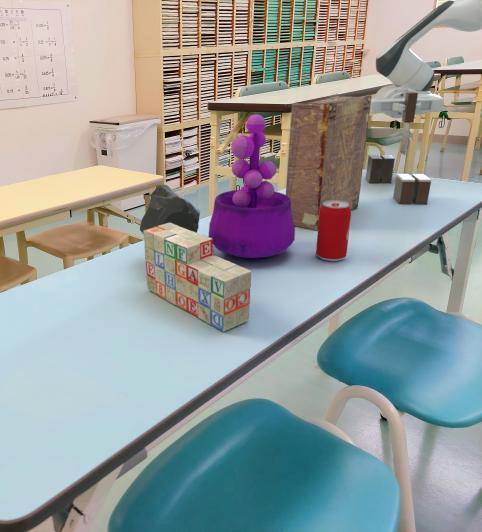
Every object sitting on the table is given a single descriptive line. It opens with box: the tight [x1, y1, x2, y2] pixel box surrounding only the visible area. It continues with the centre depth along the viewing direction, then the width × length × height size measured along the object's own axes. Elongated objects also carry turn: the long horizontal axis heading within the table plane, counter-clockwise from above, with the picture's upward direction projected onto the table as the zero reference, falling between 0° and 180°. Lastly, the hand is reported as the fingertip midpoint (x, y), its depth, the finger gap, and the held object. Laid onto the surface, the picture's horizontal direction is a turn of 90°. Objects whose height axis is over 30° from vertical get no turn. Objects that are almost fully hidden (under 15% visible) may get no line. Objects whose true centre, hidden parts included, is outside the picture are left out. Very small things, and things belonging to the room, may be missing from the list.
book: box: [285, 93, 373, 231], centre depth 134 cm, size 25×9×30 cm, turn 137°
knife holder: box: [365, 154, 396, 184], centre depth 169 cm, size 7×6×8 cm
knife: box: [399, 92, 418, 156], centre depth 149 cm, size 2×5×17 cm, turn 169°
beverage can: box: [315, 200, 352, 262], centre depth 110 cm, size 6×6×12 cm
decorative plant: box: [208, 114, 296, 259], centre depth 111 cm, size 19×18×30 cm
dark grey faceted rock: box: [139, 184, 201, 236], centre depth 107 cm, size 14×15×18 cm
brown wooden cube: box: [392, 173, 432, 205], centre depth 147 cm, size 7×7×7 cm
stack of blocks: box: [143, 223, 252, 333], centre depth 91 cm, size 21×6×12 cm, turn 35°
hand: (410, 107), depth 147 cm, fingers closed on knife, 2 cm apart
